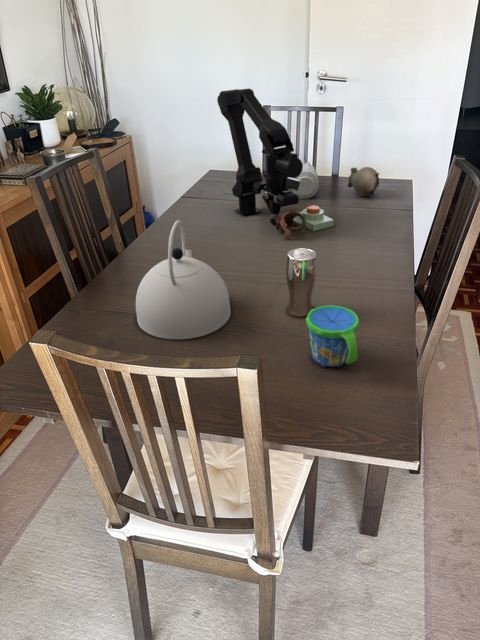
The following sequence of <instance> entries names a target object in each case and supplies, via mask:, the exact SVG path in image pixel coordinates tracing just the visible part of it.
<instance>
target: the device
mask: <svg viewBox="0 0 480 640" xmlns="http://www.w3.org/2000/svg"><path fill="white" fill-rule="evenodd" d="M303 161H304V162H302V164H303V169H302V172H301V174H300V175H299V176H298V177H296V178H294V179H297V180H299V181H301V182H300V185H299V188H298V191H295V190H293V189H291V192H293V193H295V194H297V195H298V196H299V199H301V200H302V199H305V200H306V199H310V198H312V197H314V196H315V195H316V194H317V192H318V190H319V187H320V186H319V185H320V184H319V183H320V182H319V177H318V172H317V170H316V169H315V167H314V166H313V165H312V164H311V163H310V162H308V159H307V157H306V156H304V157H303Z"/></svg>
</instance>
